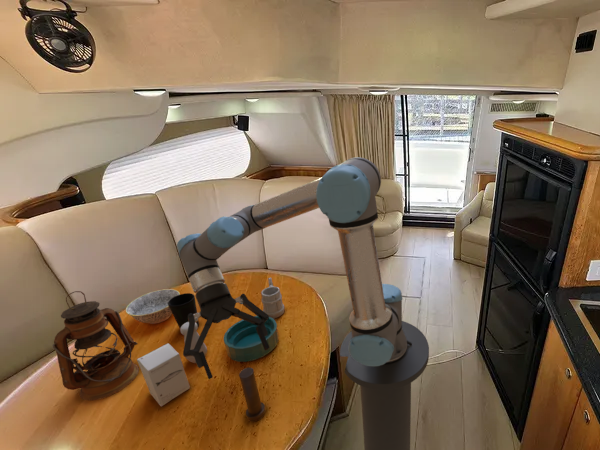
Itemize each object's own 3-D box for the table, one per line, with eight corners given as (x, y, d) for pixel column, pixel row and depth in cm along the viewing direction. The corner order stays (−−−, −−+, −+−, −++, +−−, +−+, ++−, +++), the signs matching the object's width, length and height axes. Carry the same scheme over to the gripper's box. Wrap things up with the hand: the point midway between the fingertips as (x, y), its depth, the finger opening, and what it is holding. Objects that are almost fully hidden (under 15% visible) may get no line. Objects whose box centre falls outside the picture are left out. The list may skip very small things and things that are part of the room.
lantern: (126, 354, 99) (92, 272, 88) (156, 364, 96) (124, 279, 85) (59, 399, 84) (7, 306, 73) (90, 412, 81) (41, 317, 70)
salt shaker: (196, 367, 94) (185, 333, 90) (182, 362, 96) (171, 328, 91) (213, 353, 99) (203, 320, 95) (199, 349, 101) (189, 316, 96)
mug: (263, 321, 114) (257, 293, 110) (264, 303, 124) (259, 277, 120) (285, 316, 117) (280, 289, 112) (284, 299, 127) (280, 273, 123)
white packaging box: (160, 408, 82) (146, 371, 77) (150, 394, 86) (135, 358, 81) (191, 388, 87) (179, 353, 83) (179, 376, 91) (167, 341, 87)
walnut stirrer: (268, 406, 82) (259, 365, 77) (260, 421, 78) (251, 380, 73) (252, 405, 82) (242, 365, 77) (243, 421, 78) (232, 379, 73)
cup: (206, 325, 112) (198, 297, 108) (184, 338, 106) (174, 308, 102) (195, 318, 116) (187, 290, 112) (172, 330, 110) (163, 301, 105)
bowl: (159, 334, 108) (153, 317, 105) (120, 330, 110) (113, 312, 107) (194, 307, 122) (190, 290, 120) (159, 303, 125) (154, 287, 122)
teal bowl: (286, 329, 110) (283, 315, 108) (267, 364, 95) (264, 348, 93) (242, 329, 110) (239, 315, 108) (217, 363, 96) (213, 347, 94)
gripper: (256, 276, 94) (284, 341, 89) (154, 312, 78) (183, 393, 74) (259, 267, 89) (290, 335, 84) (151, 303, 73) (182, 390, 68)
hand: (240, 363), depth 79 cm, fingers open, 13 cm apart
